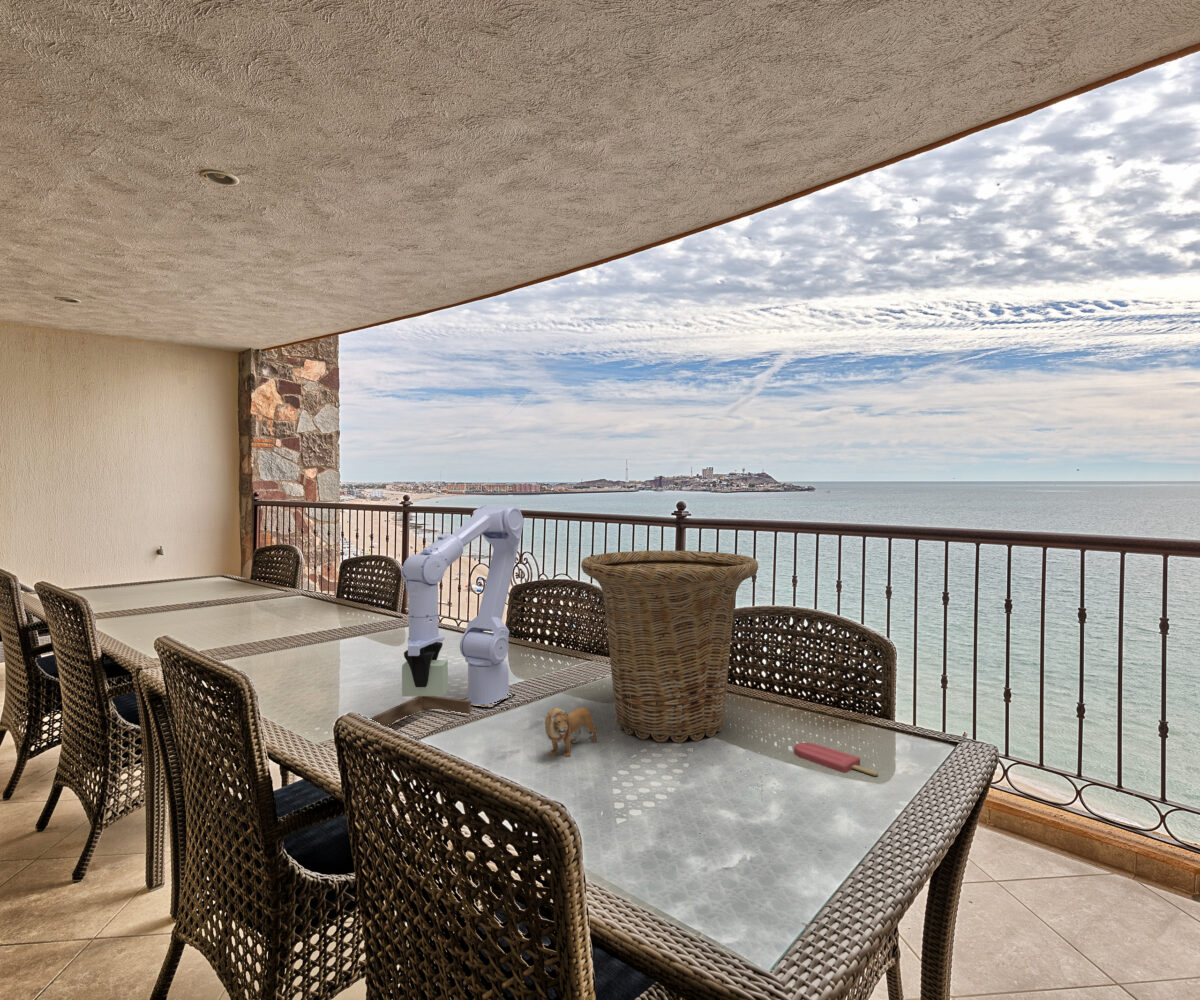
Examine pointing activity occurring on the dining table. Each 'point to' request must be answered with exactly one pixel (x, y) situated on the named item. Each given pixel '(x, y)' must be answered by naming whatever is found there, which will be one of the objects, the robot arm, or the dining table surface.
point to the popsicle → (830, 758)
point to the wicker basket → (669, 637)
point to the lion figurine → (568, 727)
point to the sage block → (435, 680)
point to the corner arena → (421, 708)
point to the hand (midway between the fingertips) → (424, 683)
